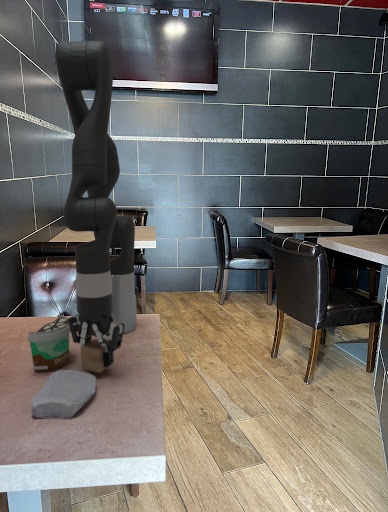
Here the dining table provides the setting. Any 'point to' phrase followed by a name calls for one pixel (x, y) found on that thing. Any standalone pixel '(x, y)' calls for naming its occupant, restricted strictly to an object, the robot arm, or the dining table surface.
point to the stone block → (64, 394)
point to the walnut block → (92, 356)
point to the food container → (50, 345)
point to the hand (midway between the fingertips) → (97, 363)
